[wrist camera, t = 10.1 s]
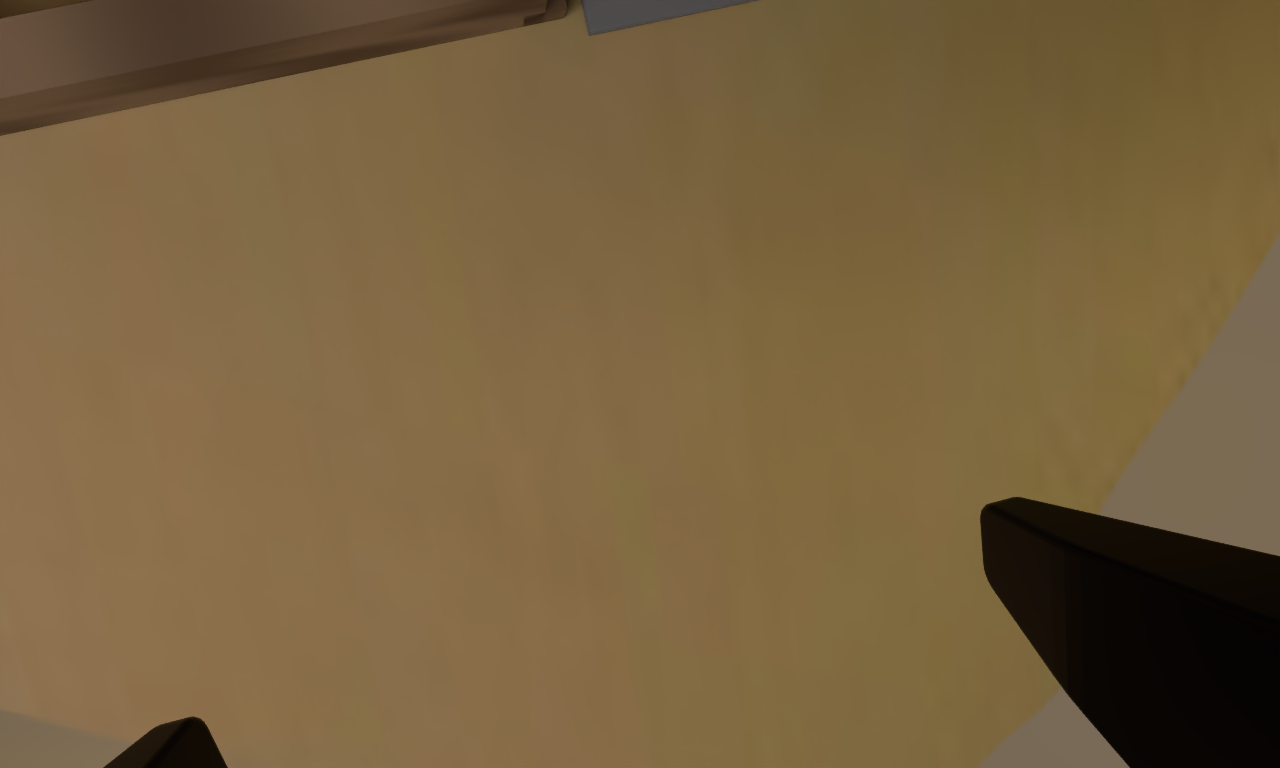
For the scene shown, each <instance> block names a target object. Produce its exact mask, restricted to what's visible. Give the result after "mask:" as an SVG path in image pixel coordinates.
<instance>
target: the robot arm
mask: <svg viewBox="0 0 1280 768" xmlns="http://www.w3.org/2000/svg"><path fill="white" fill-rule="evenodd" d="M980 523H981V538H982V552H983V565H984V570H985V574H986V577H987V579H988V581H989V583H990V585H991V587H992V589H993V590H994V591H995V593H996V594H997V596H998V597H999V599H1000V600H1001V601H1002V603H1003V604H1004V606H1005V607H1006V609H1007V610H1008V611H1009V613H1010V614H1011V616H1012V617H1013V619H1014V620H1015V621H1016V623H1017V624H1018V626H1019V627H1020V629H1021V630H1022V631H1023V633H1024V634H1025V636H1026V637H1027V639H1028V640H1029V641H1030V643H1031V644H1032V646H1033V647H1034V649H1035V650H1036V651H1037V653H1038V654H1039V656H1040V657H1041V658H1042V660H1043V661H1044V663H1045V664H1046V666H1047V667H1048V668H1049V670H1050V671H1051V673H1052V674H1053V676H1054V677H1055V678H1056V680H1057V681H1058V682H1059V684H1060V685H1061V686H1062V688H1063V689H1064V690H1065V692H1066V693H1067V694H1068V696H1069V697H1070V698H1071V699H1072V701H1073V702H1074V703H1075V704H1076V705H1077V707H1079V709H1080V710H1081V711H1082V713H1083V714H1084V715H1085V716H1086V717H1087V718H1088V720H1089V721H1090V722H1091V723H1092V724H1093V725H1094V727H1095V728H1096V729H1097V730H1098V731H1099V732H1100V733H1101V735H1102V736H1103V737H1104V738H1105V739H1106V740H1107V741H1108V743H1109V744H1110V745H1111V746H1112V747H1113V748H1114V750H1115V751H1116V752H1117V753H1118V754H1119V755H1120V757H1121V758H1122V759H1123V760H1124V761H1125V762H1126V763H1127V765H1128V766H1129V767H1130V768H1280V556H1276V555H1272V554H1268V553H1263V552H1259V551H1254V550H1250V549H1246V548H1241V547H1237V546H1232V545H1228V544H1224V543H1219V542H1215V541H1210V540H1206V539H1202V538H1197V537H1193V536H1188V535H1184V534H1180V533H1175V532H1171V531H1166V530H1162V529H1158V528H1153V527H1149V526H1144V525H1140V524H1135V523H1131V522H1127V521H1123V520H1118V519H1113V518H1109V517H1105V516H1101V515H1096V514H1092V513H1088V512H1083V511H1079V510H1074V509H1070V508H1066V507H1061V506H1057V505H1052V504H1048V503H1044V502H1039V501H1035V500H1030V499H1026V498H1022V497H1012V498H1008V499H1004V500H1001V501H997V502H993V503H990V504H987V505H985V507H984V508H983V509H982V511H981V515H980ZM103 768H228V767H227V765H226V763H225V761H224V759H223V757H222V755H221V753H220V751H219V749H218V747H217V745H216V743H215V741H214V739H213V737H212V735H211V733H210V731H209V729H208V727H207V725H206V724H205V722H204V721H202V720H201V719H200V718H197V717H188V718H184V719H180V720H176V721H173V722H169V723H165V724H161V725H159V726H157V727H155V728H153V729H152V730H150V731H149V732H148V733H147V734H145V735H144V736H143V737H141V738H140V739H139V740H138V741H136V742H135V743H134V744H133V745H131V746H130V747H129V748H127V750H125V751H124V752H122V753H121V754H120V755H119V756H117V757H116V758H115V759H114V760H112V761H111V762H110V763H108V764H107V765H106V766H105V767H103Z"/></svg>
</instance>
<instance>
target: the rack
mask: <svg viewBox="0 0 1280 768" xmlns="http://www.w3.org/2000/svg"><path fill="white" fill-rule="evenodd" d="M566 10H567V3H566V0H92V1H87V2H82V3H77V4H72V5H67V6H62V7H57V8H52V9H46V10H41V11H36V12H31V13H26V14H21V15H16V16H11V17H6V18H1V19H0V136H1V135H6V134H10V133H15V132H20V131H25V130H30V129H34V128H39V127H44V126H49V125H54V124H58V123H63V122H68V121H73V120H78V119H82V118H87V117H92V116H97V115H102V114H106V113H111V112H116V111H121V110H126V109H130V108H135V107H140V106H145V105H150V104H154V103H159V102H164V101H169V100H173V99H178V98H183V97H188V96H193V95H197V94H202V93H207V92H212V91H217V90H221V89H226V88H231V87H236V86H241V85H245V84H250V83H255V82H260V81H265V80H269V79H274V78H279V77H284V76H289V75H293V74H298V73H303V72H308V71H313V70H317V69H322V68H327V67H332V66H337V65H341V64H346V63H351V62H356V61H361V60H365V59H370V58H375V57H380V56H384V55H389V54H394V53H399V52H404V51H408V50H413V49H418V48H423V47H428V46H432V45H437V44H442V43H447V42H452V41H456V40H461V39H466V38H471V37H476V36H480V35H485V34H490V33H495V32H500V31H504V30H509V29H514V28H519V27H524V26H528V25H533V24H538V23H543V22H548V21H552V20H557V19H562V18H564V17H565V14H566Z"/></svg>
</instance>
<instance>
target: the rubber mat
mask: <svg viewBox="0 0 1280 768" xmlns="http://www.w3.org/2000/svg"><path fill="white" fill-rule="evenodd" d="M581 1H582V5H583V10H584V15H585V20H586V24H587V29H588V34H589V36H591V35H596V34H601V33H605V32H610V31H615V30H620V29H624V28H629V27H634V26H638V25H643V24H648V23H653V22H657V21H662V20H667V19H672V18H676V17H681V16H686V15H691V14H695V13H700V12H705V11H710V10H714V9H719V8H724V7H729V6H733V5H738V4H743V3H748V2H752V1H757V0H581Z"/></svg>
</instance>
